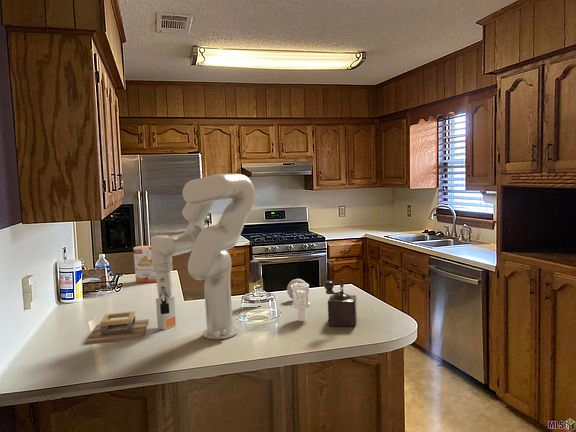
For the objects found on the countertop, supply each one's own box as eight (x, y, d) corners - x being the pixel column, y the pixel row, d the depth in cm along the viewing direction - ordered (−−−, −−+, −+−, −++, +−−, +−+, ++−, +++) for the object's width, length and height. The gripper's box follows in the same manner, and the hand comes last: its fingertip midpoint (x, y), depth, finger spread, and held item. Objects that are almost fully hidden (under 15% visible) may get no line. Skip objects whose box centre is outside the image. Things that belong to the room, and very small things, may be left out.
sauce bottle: (262, 306, 206) (259, 262, 204) (248, 306, 207) (245, 262, 206) (265, 302, 212) (263, 259, 211) (252, 302, 214) (249, 259, 212)
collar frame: (132, 332, 176) (130, 319, 176) (101, 335, 174) (100, 322, 174) (135, 323, 187) (134, 311, 187) (106, 326, 185) (105, 314, 185)
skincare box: (165, 330, 181) (163, 299, 180) (157, 328, 183) (155, 298, 182) (176, 325, 186) (174, 295, 185) (169, 324, 188) (166, 294, 187)
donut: (309, 299, 215) (308, 277, 214) (309, 301, 211) (308, 279, 211) (287, 299, 216) (286, 278, 215) (287, 301, 212) (286, 280, 211)
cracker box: (135, 283, 272) (132, 247, 270) (140, 280, 278) (137, 245, 276) (158, 282, 269) (155, 246, 268) (162, 280, 275) (159, 245, 273)
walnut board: (143, 337, 173) (143, 334, 173) (85, 344, 169) (85, 340, 169) (148, 321, 193) (148, 319, 193) (97, 327, 189) (97, 324, 189)
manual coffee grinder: (329, 318, 184) (327, 273, 183) (357, 318, 182) (355, 272, 181) (324, 331, 169) (322, 282, 168) (355, 331, 167) (353, 282, 166)
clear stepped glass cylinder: (289, 320, 184) (286, 283, 183) (300, 316, 189) (298, 279, 188) (302, 323, 179) (300, 285, 178) (314, 319, 184) (312, 281, 183)
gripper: (171, 270, 175) (174, 315, 176) (173, 262, 192) (176, 303, 193) (150, 272, 173) (154, 317, 175) (154, 264, 190) (157, 305, 192)
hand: (166, 310), depth 184 cm, fingers open, 9 cm apart
